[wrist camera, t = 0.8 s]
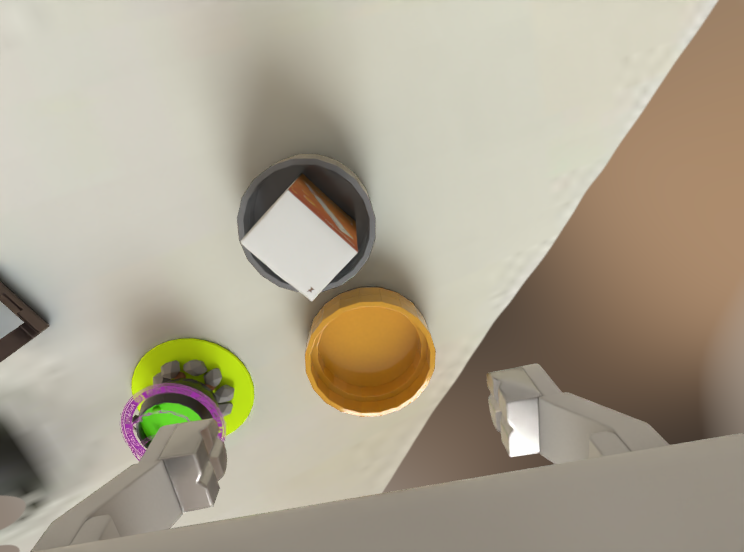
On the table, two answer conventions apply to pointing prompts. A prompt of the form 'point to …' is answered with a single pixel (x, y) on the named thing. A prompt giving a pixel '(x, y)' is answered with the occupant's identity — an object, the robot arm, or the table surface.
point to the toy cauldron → (187, 389)
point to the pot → (333, 183)
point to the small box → (304, 238)
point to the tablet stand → (25, 331)
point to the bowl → (369, 352)
